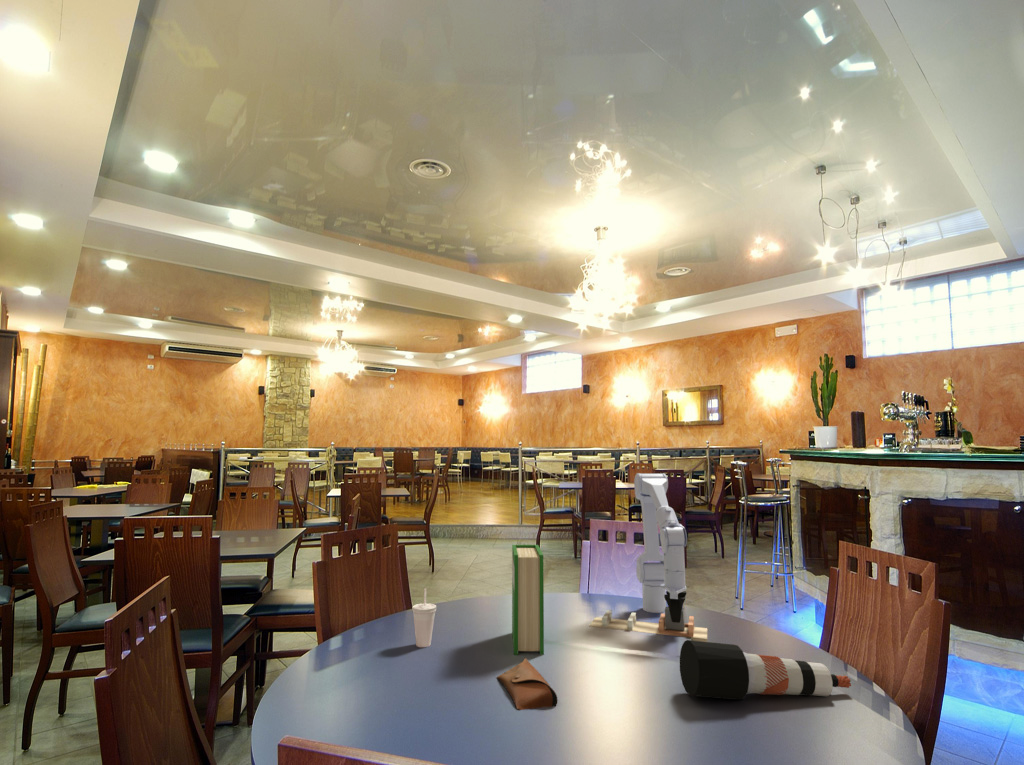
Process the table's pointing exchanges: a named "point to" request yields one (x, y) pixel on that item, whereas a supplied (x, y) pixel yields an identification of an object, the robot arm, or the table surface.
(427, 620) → the smoothie
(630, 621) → the wooden board with blocks
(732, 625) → the table surface
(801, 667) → the striped tapered cone
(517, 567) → the hardback book
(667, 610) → the plug
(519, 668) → the sunglasses case
